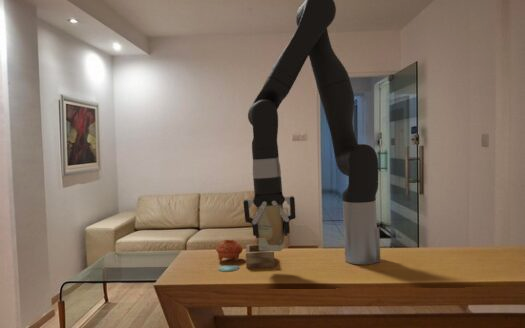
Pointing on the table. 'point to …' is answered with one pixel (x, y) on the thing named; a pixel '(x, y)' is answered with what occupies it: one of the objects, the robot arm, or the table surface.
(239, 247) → the pot
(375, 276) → the table surface
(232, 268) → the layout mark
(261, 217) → the skincare box
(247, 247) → the open wooden box
